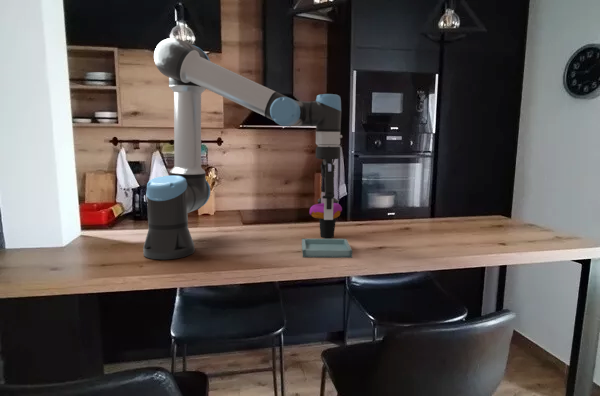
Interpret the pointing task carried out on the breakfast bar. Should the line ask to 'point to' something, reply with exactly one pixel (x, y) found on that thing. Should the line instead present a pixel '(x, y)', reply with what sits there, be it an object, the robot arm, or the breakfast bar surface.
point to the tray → (326, 248)
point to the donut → (318, 210)
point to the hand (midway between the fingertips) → (326, 215)
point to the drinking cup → (327, 224)
